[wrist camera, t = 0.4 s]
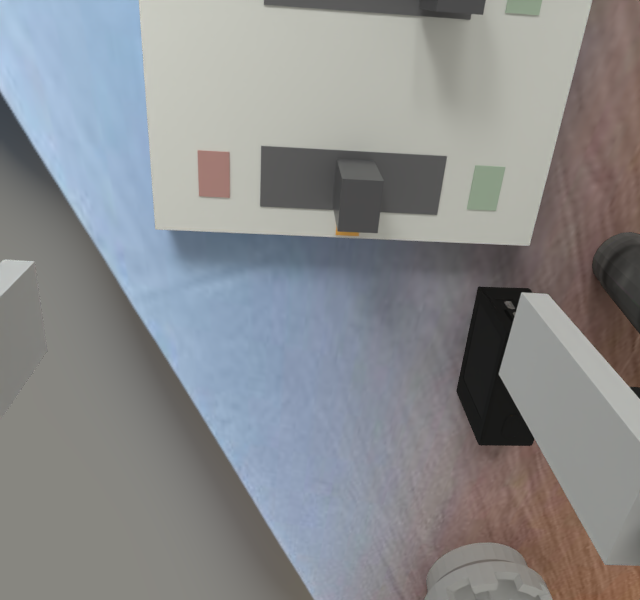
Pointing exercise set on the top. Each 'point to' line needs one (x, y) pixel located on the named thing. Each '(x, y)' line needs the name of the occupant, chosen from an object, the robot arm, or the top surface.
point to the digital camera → (491, 371)
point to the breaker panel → (356, 113)
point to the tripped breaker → (357, 196)
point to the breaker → (454, 6)
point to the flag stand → (484, 575)
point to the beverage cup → (621, 273)
